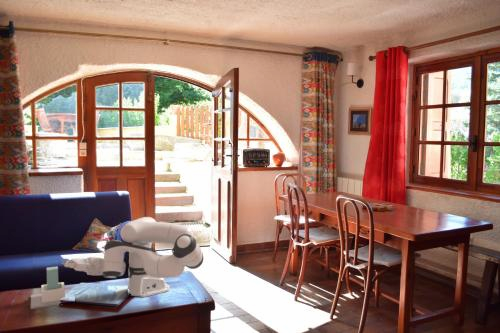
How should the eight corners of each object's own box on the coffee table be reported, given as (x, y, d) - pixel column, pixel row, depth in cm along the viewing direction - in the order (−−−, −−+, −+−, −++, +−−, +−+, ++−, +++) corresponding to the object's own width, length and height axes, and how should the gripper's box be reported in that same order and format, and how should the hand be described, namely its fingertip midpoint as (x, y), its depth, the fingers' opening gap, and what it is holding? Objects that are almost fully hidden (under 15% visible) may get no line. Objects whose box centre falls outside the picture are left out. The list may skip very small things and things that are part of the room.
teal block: (58, 295, 216) (57, 266, 215) (58, 298, 211) (57, 268, 210) (47, 296, 213) (46, 267, 213) (47, 299, 209) (46, 270, 208)
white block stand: (73, 290, 225) (72, 278, 225) (76, 302, 209) (75, 289, 209) (31, 296, 216) (30, 284, 216) (30, 309, 200) (30, 295, 200)
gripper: (94, 275, 204) (64, 272, 197) (87, 269, 222) (59, 267, 215) (97, 262, 205) (67, 259, 199) (90, 257, 223) (62, 254, 216)
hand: (63, 263), depth 207 cm, fingers open, 8 cm apart
